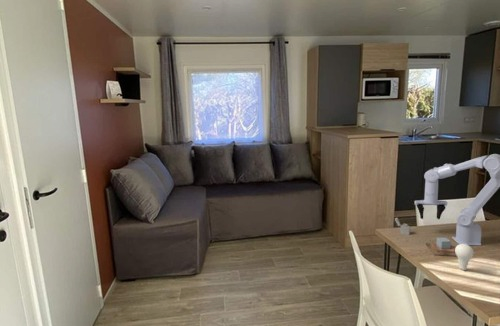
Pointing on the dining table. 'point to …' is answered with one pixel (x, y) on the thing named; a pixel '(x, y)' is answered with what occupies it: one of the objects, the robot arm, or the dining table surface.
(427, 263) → the dining table surface
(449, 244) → the block
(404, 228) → the lighter
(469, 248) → the lightbulb
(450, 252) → the base plate
